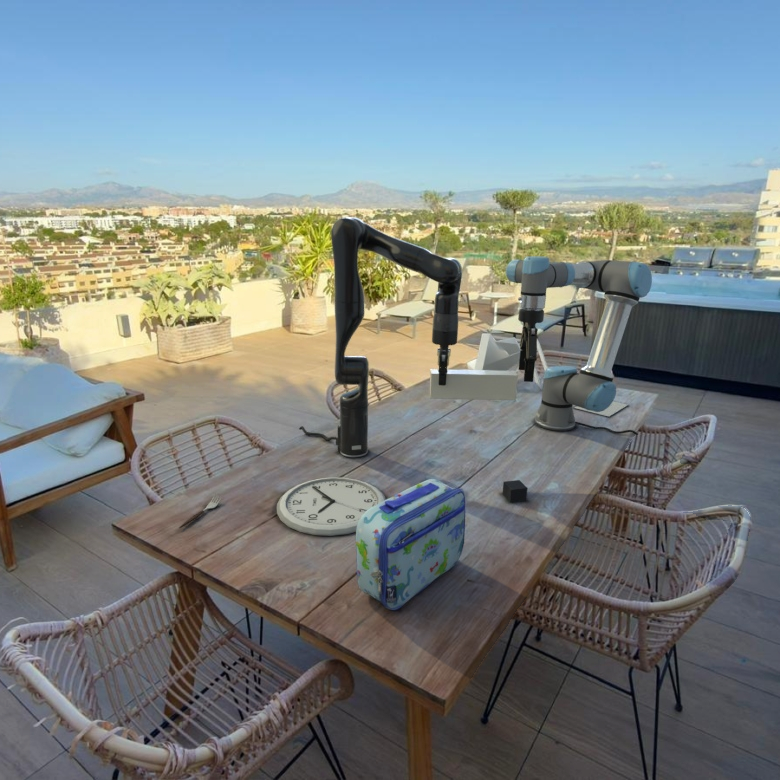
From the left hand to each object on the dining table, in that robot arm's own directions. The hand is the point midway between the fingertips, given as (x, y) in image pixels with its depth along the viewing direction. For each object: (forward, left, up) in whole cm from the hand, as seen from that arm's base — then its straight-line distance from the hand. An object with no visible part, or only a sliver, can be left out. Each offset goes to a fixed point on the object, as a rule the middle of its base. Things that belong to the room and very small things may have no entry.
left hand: (442, 382), depth 160 cm
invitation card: (+34, +91, -28) cm, 101 cm away
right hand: (+20, +19, +1) cm, 28 cm away
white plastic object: (-12, +102, -28) cm, 106 cm away
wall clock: (-13, -39, -28) cm, 50 cm away
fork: (-39, -61, -28) cm, 78 cm away
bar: (+8, +5, -5) cm, 11 cm away
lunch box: (+21, -56, -28) cm, 66 cm away
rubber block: (+28, -8, -28) cm, 40 cm away
